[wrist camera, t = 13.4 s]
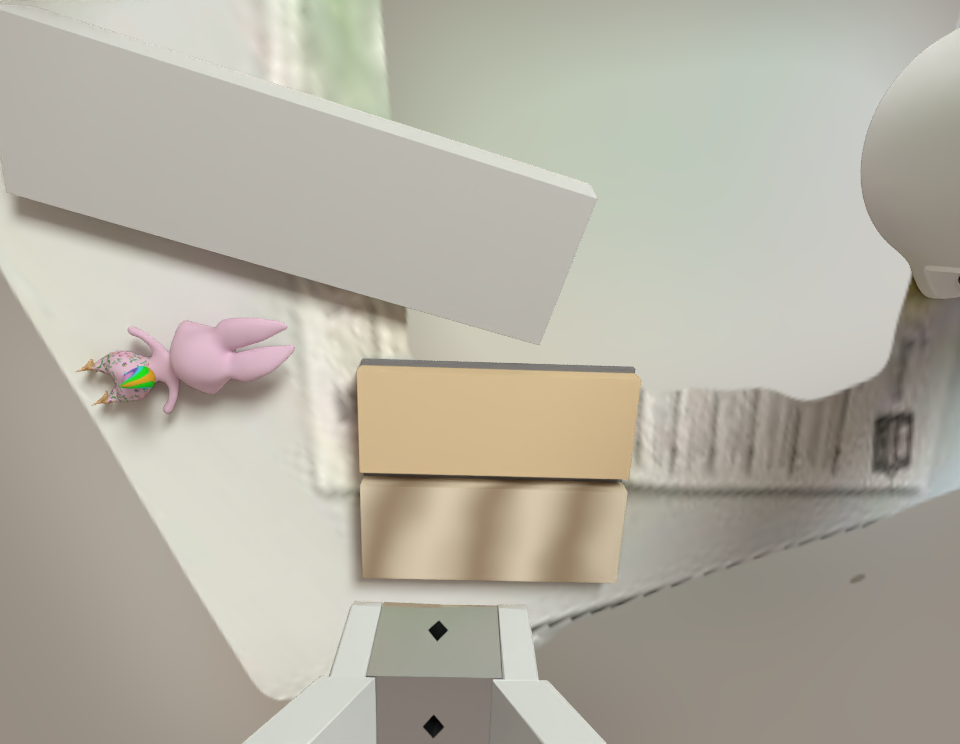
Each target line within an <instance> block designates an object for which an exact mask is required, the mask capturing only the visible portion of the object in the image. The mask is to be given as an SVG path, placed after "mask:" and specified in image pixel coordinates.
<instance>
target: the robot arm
mask: <svg viewBox="0 0 960 744" xmlns="http://www.w3.org/2000/svg"><path fill="white" fill-rule="evenodd" d="M861 186H862V193H863V198H864V202H865V206H866V208H867V211H868V214H869V216H870V218H871V220H872V222H873V224H874V226H875V227H876V229H877V230H878V232H879V233H880V234H881V236H882V237H883V238H884V239H885V240H886V241H887V242H888V243H889V244H890V245H891V246H892V247H893V248H895V249H896V250H897V251H898V252H899V253H900V254H902V256H903V257H904V258H905V259H906V260H907V261H908V263H909V265H910V268H911V271H912V273H913V276H914V279H915V281H916V284H917V286H918V288H919V289H920V291H921V292H922V294H924V295H925V296H926V297H928V298H934V299H950V298H957V297H960V281H959V282H958V278H959V276H960V27H959V28H958V29H956V30H955V31H953V32H951V33H950V34H948V35H946V36H945V37H943V38H942V39H940V40H938V41H937V42H935V43H934V44H932V45H931V46H929V47H928V48H927V49H925V50H924V51H923V52H921V53H920V54H919V55H918V56H917V57H916V58H915V59H914V60H912V61H911V62H910V64H908V65H907V66H906V67H905V68H904V70H903V71H902V72H901V73H900V74H899V75H898V77H897V78H896V79H895V80H894V82H893V83H892V84H891V86H890V87H889V89H888V90H887V92H886V93H885V95H884V96H883V98H882V100H881V102H880V103H879V105H878V107H877V109H876V111H875V114H874V116H873V118H872V120H871V123H870V126H869V128H868V132H867V135H866V139H865V143H864V148H863V153H862V160H861ZM242 744H607V743H606V742H605V741H604V740H603V739H602V738H601V737H600V736H599V735H598V734H597V733H596V731H595V730H594V729H593V728H592V727H591V726H590V725H589V724H588V723H587V722H586V721H585V720H584V719H583V718H582V717H581V716H580V715H579V714H578V712H576V710H575V709H574V708H573V707H572V706H571V705H570V704H569V703H568V702H567V701H566V699H565V698H564V697H563V696H562V695H561V694H560V693H559V692H558V691H557V690H556V689H555V688H554V687H553V686H552V685H551V684H550V682H549V681H547V680H539V678H538V672H537V665H536V658H535V651H534V645H533V638H532V631H531V624H530V618H529V611H528V608H527V606H526V605H498V606H481V605H437V604H414V603H392V602H384V603H381V602H357V601H355V602H354V603H353V604H352V606H351V607H350V610H349V613H348V616H347V620H346V623H345V626H344V629H343V633H342V636H341V639H340V642H339V645H338V649H337V652H336V655H335V658H334V662H333V665H332V668H331V671H330V674H329V677H319V678H317V679H316V680H315V681H314V682H313V683H312V684H310V685H309V686H308V687H307V688H306V689H305V690H303V691H302V692H301V693H300V694H299V695H298V696H296V697H295V698H294V699H293V700H292V701H291V702H290V703H288V704H287V705H286V706H285V707H284V708H283V709H282V710H280V711H279V712H278V713H277V714H276V715H274V716H273V717H272V718H271V719H270V720H269V721H267V722H266V723H265V724H264V725H263V726H262V727H260V728H259V729H258V730H257V731H256V732H255V733H253V734H252V735H251V736H250V737H249V738H248V739H246V740H245V741H244V742H243V743H242Z"/></svg>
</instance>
